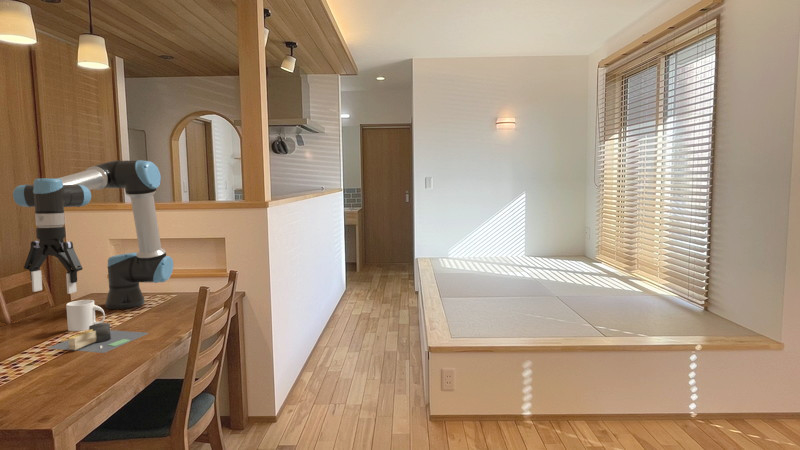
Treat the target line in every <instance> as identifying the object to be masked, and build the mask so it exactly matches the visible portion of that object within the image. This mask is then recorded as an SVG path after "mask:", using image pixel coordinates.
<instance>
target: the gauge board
mask: <svg viewBox="0 0 800 450" xmlns="http://www.w3.org/2000/svg"><path fill="white" fill-rule="evenodd" d="M110 334H111V339H110V340H108V341H105V342H100V343H91V344H88V345H86V346H83V347H81V348H78V349H76V350H74V349H69V340H68V339H67V340H65V341H62V342H59V343H56V344H53V345H52V346H49V347H47V349H54V350H63V351H64V350H65V351H66V350H67V351H74V352H75V351H77V352H86V353H87V352H89V353H101V354H106V353H107V352H109V351H112V350H114V349H117V348H119V347H122V346H124V345H126V344H128V343H130V342H133V341H135V340H137V339H139V338H141V337H144V336H146V335H148V334H149V332H144V331H143V332H142V331H130V330H129V331H128V330H114V329H113V330H112V329H110Z"/></svg>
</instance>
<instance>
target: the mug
mask: <svg viewBox="0 0 800 450" xmlns="http://www.w3.org/2000/svg"><path fill="white" fill-rule="evenodd" d="M65 309H66V319H67V320H66V321H67V331H68V332H85V331H88V330H89V326H91V325H94V324H99V323H104V321H105V319H106V318H105V317H106V314H105V311H104V309H103V308H102V307H101V306H99V305H96V304H95V300H93V299H80V300H74V301H70V302H67V303H66V306H65ZM96 311H99V312H101V314H103V317H102V319H100V320H99V321H96Z"/></svg>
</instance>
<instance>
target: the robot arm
mask: <svg viewBox="0 0 800 450" xmlns="http://www.w3.org/2000/svg"><path fill="white" fill-rule="evenodd" d="M161 178H162V176H161V173H160V170H159V167H158V166H157V165H156V164H155V163H154V162H152V161H149V160H142V159H139V160H137V159H135V160H131V159H129V160H112V161H106V162H103V163H99V164H96V165H93V166H90V167H89V166H88V167H87V168H86V169H85V170H83V171H80V172H76V173H72V174H69V175H65V176H61V177H57V178H45V177H44V178H36V179H34V180H33V184H28V183H27V184H20V185H17V186H16V187H15V188H14V189H13V191H12V192H13V193H12V197H13V201H14V203H15V204H16V205H17V206H20V207H23V208H24V207H25V208H26V207H27V208H34V209H35V211H34V214H35V215H34V216H35V217H34V218H35V226H36V229H35V233H36V235H35V236H36V239H37V240H32V241H30V249H29V251H28V254H27V258H26V260H25V264H24V266H23V269H24V270H28V271H29V273H30V281H31V286H32V287H31V288H32V292H40V291H43V280H42V279H43V277H42V270H41V267H42V265H43V264H44V262H45V260H46V259H47V257H48V256H51V257H52V256H53V257H56V258H57V259H58V260H59V262H60V263H61V264H62V266H63V267H64V268H65V270H66V271H67V272H66V273H65V276H66V278H65V279H66V293H67V294H69V295H71V294H73V293H77V292H78V291H77V290H78V289H77V283H78V272H80V271H82V270H83V266H82V264H81V262H80V259H79V257H78V255H77V253H76V251H75V249H74V245H73V244H74V243H73V241H64V239H65V238H66V227H65V224H66V220H65V218H66V217H65V208H72V207H73V208H74V207H75V208H76V207H77V208H80V207H85V206H86V205H88V204H89V203H90V202H91V199H92V193H91V190H96V191H97V190H100V191H101V190H103V189H124V191H125V195H126V196H128V197H129V198H130V201H131V209H132V215H133V221H134V225H135V233H136V239H137V244H138V252H127V253H121V254H120V253H119V254H116V255H112V256H110V257H108V259H107V275H108V287H109V288H108V293H107V298H106V300H105V309H107V310H125V309H133V308H137V307H139V306H143V305H144V304H145V297H144V296H143V292H142V290H141V288H140V283H153V284H156V283H157V284H158V283H165V282H167V281H168V280H169V279H170V278H171V276H172V274H173V271H174V260H173V259H174V258H172V257H171V256H169V255H167V251H166V250H165V248H162V243H161V238H160V237H161V236H160V232H159V231H160V230H159V224H158V218H157V210H156V205H155V204H156V203H155V196H154V195H155V193H156V192H157V188H159V186H160V184H161V180H162V179H161Z"/></svg>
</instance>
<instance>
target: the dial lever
mask: <svg viewBox="0 0 800 450" xmlns="http://www.w3.org/2000/svg"><path fill="white" fill-rule="evenodd" d="M110 330H111V324H110V323H109V322H103V323H99V324H94V325H91V326H89V329H88V330H84V331H81V332H80V333H77V334H75V335H72V336H70V337H67V340H69V349H74V350H76V349H78V348H81V347H83V346H86V345H88V344H91V343H100V342H105V341H108V340H110V339H111V334H110ZM74 350H73V351H74Z"/></svg>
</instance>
